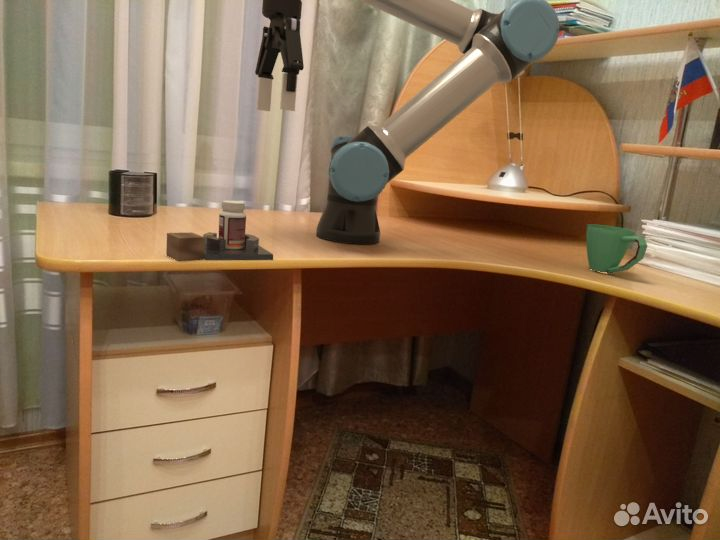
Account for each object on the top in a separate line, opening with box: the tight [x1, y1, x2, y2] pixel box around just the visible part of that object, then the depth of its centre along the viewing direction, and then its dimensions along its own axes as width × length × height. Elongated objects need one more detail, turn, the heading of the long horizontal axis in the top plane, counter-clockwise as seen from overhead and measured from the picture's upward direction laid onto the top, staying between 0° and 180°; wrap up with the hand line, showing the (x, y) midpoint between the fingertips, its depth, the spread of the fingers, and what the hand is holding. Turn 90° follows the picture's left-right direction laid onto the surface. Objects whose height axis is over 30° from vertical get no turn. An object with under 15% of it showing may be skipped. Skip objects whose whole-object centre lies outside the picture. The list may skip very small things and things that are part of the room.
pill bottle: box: [217, 199, 247, 250], centre depth 99 cm, size 5×5×8 cm
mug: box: [585, 223, 648, 274], centre depth 120 cm, size 15×10×10 cm
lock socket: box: [202, 232, 274, 261], centre depth 100 cm, size 12×12×3 cm
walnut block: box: [165, 232, 205, 263], centre depth 92 cm, size 4×4×4 cm
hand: (274, 110), depth 110 cm, fingers open, 13 cm apart
